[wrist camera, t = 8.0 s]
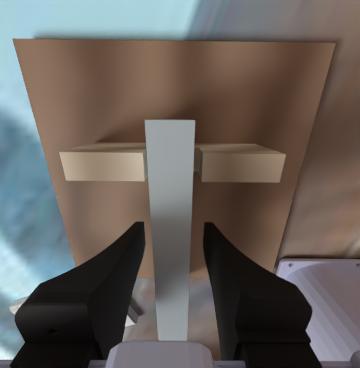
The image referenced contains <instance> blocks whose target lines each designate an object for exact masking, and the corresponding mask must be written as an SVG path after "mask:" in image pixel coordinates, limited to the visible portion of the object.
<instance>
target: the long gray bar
mask: <svg viewBox="0 0 360 368" xmlns="http://www.w3.org/2000/svg"><path fill="white" fill-rule="evenodd" d="M145 134H146V150H147V166H148V182H149V198H150V214H151V230H152V246H153V262H154V278H155V294H156V311H157V327H158V340H160V341H187V323H188V297H189V271H190V244H191V218H192V192H193V165H194V139H195V120H173V119H158V120H145Z"/></svg>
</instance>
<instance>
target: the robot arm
mask: <svg viewBox="0 0 360 368" xmlns="http://www.w3.org/2000/svg"><path fill="white" fill-rule="evenodd" d="M145 245H146V241H145V228H144V222H138V221H136V222H135V223H134V224H133V225H132V226H131V227H130V228H129V229H128V230H127V231H125V232H124V233H123V234H122V235H121V236H120V237H119V238H118V239H117V240H116V241H114V242H113V243H112V244H111V245H110V246H108V247H107V248H106V249H104V250H103V251H102V252H100V253H99V254H97V255H96V256H94V257H93V258H91V259H89V260H88V261H86V262H84V263H83V264H81V265H79V266H77V267H75V268H73V269H72V270H70V271H68V272H66V273H63V274H61V275H59V276H57V277H55V278H52V279H50V280H48V281H45V282H43V283H40V284H39V285H38V286H37V288H36V289H35V290H34V291H33V292H32V293H31V295H30V296H29V297H28V298H27V299H26V301H25V302H24V303H23V304H22V305H21V306H20V308H19V309H18V310H17V312H16V313H15V323H16V326H17V328H18V329H19V331H20V333H21V335H22V337H23V339H24V341H25V343H24V345H23V346H22V348H21V349H20V351H19V352H18V353H17V355H16V356H15V358H14V359H13V360H0V368H360V259H282V260H281V261H280V262H279V266H278V269H277V273H276V275H275V274H273V273H272V272H270V271H268V270H266V269H265V268H263V267H261V266H260V265H258V264H257V263H255V262H254V261H252V260H251V259H250V258H248V257H247V256H246V255H244V254H243V253H242V252H241V251H239V250H238V249H237V248H236V247H235V246H234V245H233V244H232V243H231V242H230V241H229V240H228V239H227V238H226V237H225V236H224V235H223V234H222V233H221V231H220V230H219V229H218V228H217V227H216V226H215V224H214V223H213V222H204V233H203V251H204V258H205V262H206V266H207V270H208V274H209V278H210V283H211V287H212V292H213V298H214V305H215V312H216V319H217V326H218V334H219V342H220V350H221V359H222V361H213V357H212V354H211V351H210V349H209V348H208V347H206V346H204V345H203V344H201V343H200V342H194V341H160V340H132V341H125V342H122V339H123V334H124V329H125V323H126V319H127V314H128V309H129V304H130V300H131V295H132V291H133V287H134V284H135V281H136V278H137V275H138V272H139V268H140V265H141V262H142V259H143V255H144V250H145Z"/></svg>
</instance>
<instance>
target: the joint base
mask: <svg viewBox="0 0 360 368" xmlns="http://www.w3.org/2000/svg"><path fill="white" fill-rule="evenodd" d="M13 43H14V46H15V50H16V54H17V57H18V61H19V64H20V68H21V72H22V75H23V79H24V82H25V86H26V89H27V93H28V97H29V100H30V104H31V107H32V111H33V115H34V118H35V122H36V125H37V129H38V133H39V136H40V140H41V143H42V147H43V151H44V154H45V158H46V161H47V165H48V169H49V172H50V176H51V179H52V183H53V187H54V190H55V194H56V197H57V201H58V205H59V208H60V212H61V215H62V219H63V223H64V226H65V230H66V233H67V237H68V241H69V244H70V248H71V251H72V255H73V259H74V262H75V266H76V267H77V266H79V265H81V264H83V263H84V262H86V261H88V260H89V259H91V258H93V257H94V256H96V255H97V254H99V253H100V252H102V251H103V250H104V249H106V248H107V247H108V246H110V245H111V244H112V243H113V242H114V241H116V240H117V239H118V238H119V237H120V236H121V235H122V234H123V233H124V232H125V231H127V230H128V229H129V228H130V227H131V226H132V225H133V224H134V223H135V222H136V221H138V222H144V228H145V241H146V245H145V250H144V255H143V259H142V262H141V265H140V268H139V272H138V275H137V278H154V262H153V246H152V230H151V214H150V198H149V182H148V166H147V150H146V134H145V120H158V119H173V120H195V139H194V165H193V192H192V218H191V244H190V271H189V278H209V274H208V270H207V266H206V262H205V258H204V251H203V233H204V222H213V223H214V224H215V226H216V227H217V228H218V229H219V230H220V231H221V233H222V234H223V235H224V236H225V237H226V238H227V239H228V240H229V241H230V242H231V243H232V244H233V245H234V246H235V247H236V248H237V249H238V250H239V251H241V252H242V253H243V254H244V255H246V256H247V257H248V258H250V259H251V260H252V261H254V262H255V263H257V264H258V265H260V266H261V267H263V268H265V269H266V270H268V271H270V272H272V273H273V269H274V265H275V262H276V258H277V255H278V251H279V247H280V244H281V240H282V236H283V233H284V229H285V226H286V222H287V218H288V215H289V211H290V208H291V204H292V200H293V197H294V193H295V189H296V186H297V182H298V179H299V175H300V171H301V168H302V164H303V160H304V157H305V153H306V150H307V146H308V142H309V139H310V135H311V132H312V128H313V124H314V121H315V117H316V113H317V110H318V106H319V103H320V99H321V95H322V92H323V88H324V84H325V81H326V77H327V74H328V70H329V66H330V63H331V59H332V55H333V52H334V48H335V45H336V43H305V42H229V41H153V40H76V39H13Z"/></svg>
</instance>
